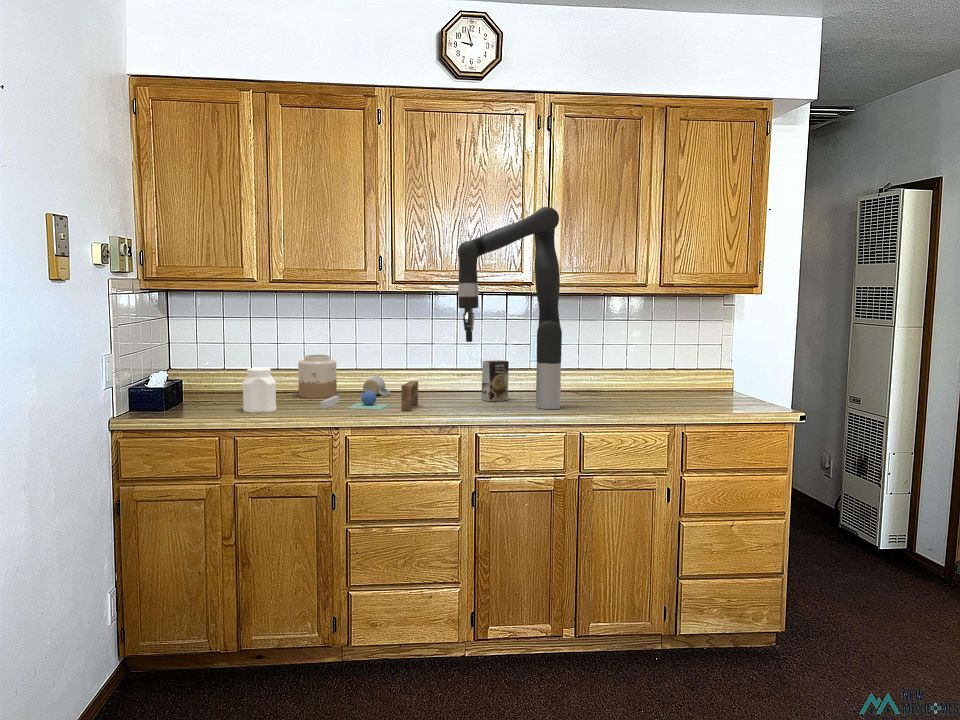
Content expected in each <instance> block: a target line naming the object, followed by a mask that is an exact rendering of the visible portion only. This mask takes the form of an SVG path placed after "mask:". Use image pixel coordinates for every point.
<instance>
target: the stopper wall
mask: <svg viewBox="0 0 960 720" xmlns="http://www.w3.org/2000/svg"><path fill="white" fill-rule="evenodd" d="M340 398H341V397H340V395H336V396H333V397H331V398H325V399H322V401H320V403H319V404H320V405H319V406H320V409H321V410H322V409H328V408H330V407H333V406H335V405H337V404H339V403H341V402H340V401H341V399H340Z"/></svg>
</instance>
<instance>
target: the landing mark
mask: <svg viewBox="0 0 960 720" xmlns="http://www.w3.org/2000/svg"><path fill="white" fill-rule="evenodd" d="M390 405H391V404H390V403H374V404H373V405H365V404H364V403H363V402H357V403H354V404H352V405H351V406H348V407H347V408H346V409H347V410H370V411H371V410H375V411H377V410H378V411H381V410H383V409H384V408H386V407H388V406H390Z"/></svg>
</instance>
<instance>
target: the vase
mask: <svg viewBox="0 0 960 720" xmlns="http://www.w3.org/2000/svg"><path fill="white" fill-rule="evenodd" d="M297 365H298V367H297V368H298V374H297V375H298V379H297V380H298V397H300V398H301V399H310V400H312V399H313V400H316V399H317V400H319V399H322V400H325V399H328V398H331V397H333V396H338V395H337V392H338V390H337V385H338V384H337V383H338V382H337V361H336V360H333V359H331V357H330V355H327V354H308V355H305V356H304V360H299V361H298V363H297Z"/></svg>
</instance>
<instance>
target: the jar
mask: <svg viewBox="0 0 960 720" xmlns="http://www.w3.org/2000/svg"><path fill="white" fill-rule="evenodd" d="M246 373H247V374H246V375H247V376H246V377H245V379H244V380H243V382H242V398H243V399H242V400H243V404H242V405H243V406H242V411H243V412H245V413H271V412H275V411H276V410H277V395H276V394H277V393H276V392H277V391H276V389H277V388H276V387H277V381H276V380H275V379H274V377H273V376H272V368H268V367H253V368H252V367H251V368H247V372H246Z"/></svg>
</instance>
